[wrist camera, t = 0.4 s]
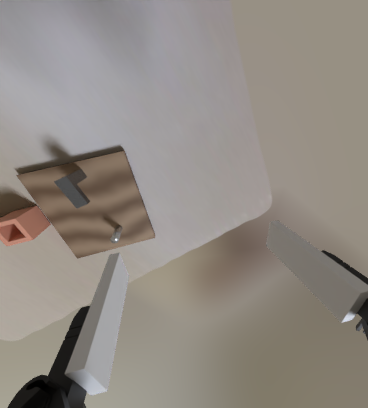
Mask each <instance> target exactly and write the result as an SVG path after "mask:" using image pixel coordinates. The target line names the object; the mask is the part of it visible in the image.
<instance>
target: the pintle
mask: <svg viewBox="0 0 368 408" xmlns="http://www.w3.org/2000/svg"><path fill="white" fill-rule="evenodd" d="M122 229H123V227H122V226H120V225H117V226H116V227H115V230H114V232H113V234H112V237H111V239H110V241H111V242H112V243H117V242H118V241H119V238H120V235H121V232H122Z"/></svg>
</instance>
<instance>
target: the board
mask: <svg viewBox="0 0 368 408" xmlns="http://www.w3.org/2000/svg"><path fill="white" fill-rule="evenodd" d="M80 169H82V170H83V172H84V173H85V174H86V176H87V178H85V179H84V180H82V181H81V182H79V183H78V184H77V185H78V186H79V188H80V189H81V190H82V191H83V193H84V194H85V195H86V196H87V198H88V199H89V200H90V202H89V203H88V204H87V205H84V206H82V207H80V208H76V207H75V206H74V205H73V204H72V203H71V201H70V200H69V199H68V198H67V197H66V196H65V194H64V193H63V192H62V191H61V190H60V189H59V187H58V186H57V185H56V184H55V183H54V181H56V180H58V179H60V178H62V177H64V176H66V175H68V174H71V173H73V172H75V171H77V170H80ZM16 176H17V177H18V178H19V180H20V181H21V182H22V184H23V185H24V186H25V188H26V189H27V191H28V192H29V193H30V195H31V196H32V197H33V199H34V200H35V201H36V203H37V204H38V206H39V207H40V208H41V210H42V211H43V212H44V214H45V215H46V216H47V218H48V219H49V221H50V222H51V223H52V225H53V226H54V227H55V229H56V230H57V231H58V233H59V234H60V236H61V237H62V238H63V240H64V241H65V242H66V244H67V245H68V246H69V248H70V249H71V250H72V252H73V253H74V255H75V256H76V257H77V258H81V257H84V256H88V255H92V254H96V253H99V252H103V251H107V250H111V249H114V248H118V247H122V246H126V245H129V244H133V243H137V242H141V241H144V240H148V239H152V238H155V233H154V230H153V228H152V225H151V222H150V219H149V217H148V214H147V211H146V208H145V206H144V203H143V200H142V197H141V195H140V192H139V189H138V186H137V184H136V181H135V178H134V175H133V173H132V170H131V167H130V164H129V162H128V159H127V156H126V153H125V151H120V152H116V153H111V154H107V155H102V156H98V157H94V158H89V159H85V160H80V161H76V162H72V163H67V164H63V165H58V166H54V167H50V168H45V169H41V170H37V171H32V172H28V173H23V174H20V175H16ZM117 225H120V226H122V227H123V229H122V232H121V235H120V238H119V241H118V242H117V243H112V242H111V241H110V239H111V237H112V234H113V232H114V230H115V227H116V226H117Z"/></svg>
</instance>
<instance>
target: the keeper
mask: <svg viewBox="0 0 368 408" xmlns="http://www.w3.org/2000/svg"><path fill="white" fill-rule="evenodd" d="M85 178H87V176H86V174H85V173H84V172H83V170H82V169H80V170H77V171H75V172H73V173H71V174H68V175H66V176H64V177H62V178H60V179H58V180H56V181H54V183H55V184H56V185H57V186H58V187H59V189H60V190H61V191H62V192H63V193H64V194H65V196H66V197H67V198H68V199H69V200H70V201H71V203H72V204H73V205H74V206H75V207H76V208H80V207H82V206H84V205H87V204H88V203H89V202H90V200H89V199H88V198H87V196H86V195H85V194H84V193H83V191H82V190H81V189H80V188H79V186H78V185H77V184H78V183H79V182H81V181H82V180H84V179H85Z"/></svg>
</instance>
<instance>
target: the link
mask: <svg viewBox="0 0 368 408" xmlns="http://www.w3.org/2000/svg"><path fill="white" fill-rule="evenodd" d="M49 225H51V224H50V222H49V221H48V220H47V218H46V217H45V216H44V214H43V213H42V212H41V210H40V209H39V208H38V206H33V207H29V208H24V209H20V210H16V211H12V212H11V213H9V214H7V215H5V216H3V217H0V240H1V241H2V242H3V243H4V244H5V245H6V246H10V245H14V244H18V243H22V242H26V241H30V240H33V239H34V238H36V237H37V236H38V235H39V234H40V233H41V232H42V231H44V230H45V229H46V228H47V227H48V226H49Z"/></svg>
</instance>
